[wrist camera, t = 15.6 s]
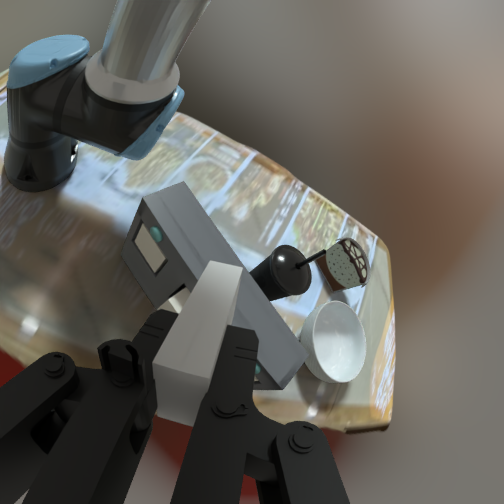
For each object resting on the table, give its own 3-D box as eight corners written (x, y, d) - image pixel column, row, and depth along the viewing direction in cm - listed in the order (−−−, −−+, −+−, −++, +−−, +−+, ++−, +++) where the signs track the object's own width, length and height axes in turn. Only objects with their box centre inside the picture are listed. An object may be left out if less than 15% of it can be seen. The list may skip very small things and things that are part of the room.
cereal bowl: (274, 357, 48) (301, 353, 42) (305, 293, 58) (329, 283, 53) (328, 398, 50) (355, 396, 45) (349, 337, 61) (373, 331, 56)
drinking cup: (252, 323, 48) (339, 290, 33) (217, 301, 46) (297, 256, 31) (265, 289, 53) (346, 247, 38) (233, 267, 51) (309, 214, 36)
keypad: (216, 389, 39) (280, 392, 27) (118, 255, 39) (139, 198, 27) (241, 364, 43) (309, 355, 32) (150, 238, 43) (184, 181, 32)
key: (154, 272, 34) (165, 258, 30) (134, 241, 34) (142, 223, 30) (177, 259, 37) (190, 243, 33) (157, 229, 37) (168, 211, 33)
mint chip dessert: (346, 287, 68) (377, 274, 60) (335, 298, 64) (368, 284, 56) (323, 246, 69) (352, 228, 61) (310, 254, 65) (342, 236, 57)
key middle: (180, 341, 32) (195, 336, 28) (156, 309, 32) (168, 299, 28) (202, 323, 35) (219, 316, 31) (180, 293, 35) (194, 281, 31)
